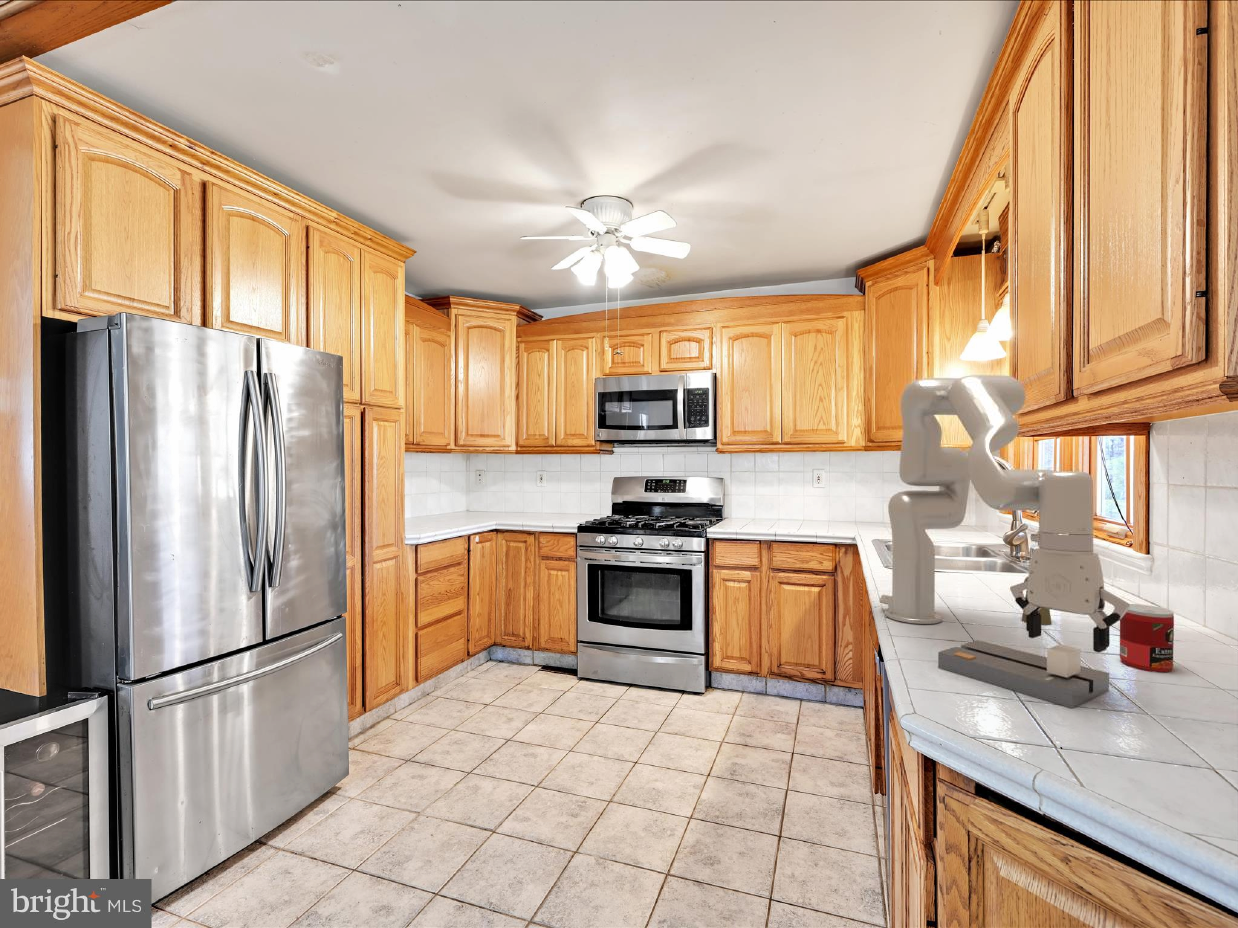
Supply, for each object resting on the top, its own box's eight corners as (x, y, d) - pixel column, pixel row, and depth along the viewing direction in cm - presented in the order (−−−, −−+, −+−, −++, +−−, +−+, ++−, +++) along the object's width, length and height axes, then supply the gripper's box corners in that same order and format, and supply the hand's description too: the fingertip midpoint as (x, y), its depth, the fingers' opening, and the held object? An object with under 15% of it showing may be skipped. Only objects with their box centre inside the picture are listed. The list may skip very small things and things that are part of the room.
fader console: (938, 667, 116) (938, 650, 116) (977, 654, 124) (977, 639, 124) (1071, 708, 98) (1072, 688, 98) (1108, 690, 105) (1109, 671, 105)
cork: (1056, 625, 144) (1057, 579, 144) (1028, 624, 146) (1028, 578, 146) (1044, 619, 150) (1044, 574, 150) (1017, 617, 152) (1017, 573, 151)
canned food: (1159, 675, 112) (1160, 615, 112) (1110, 661, 120) (1110, 605, 119) (1182, 669, 115) (1183, 611, 115) (1132, 656, 123) (1133, 602, 123)
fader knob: (1046, 683, 105) (1047, 648, 105) (1060, 677, 107) (1060, 644, 107) (1066, 689, 102) (1067, 653, 102) (1080, 683, 105) (1080, 648, 105)
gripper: (1000, 539, 110) (1001, 634, 110) (1118, 550, 95) (1119, 660, 95) (1021, 537, 114) (1022, 628, 114) (1137, 547, 99) (1138, 652, 99)
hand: (1066, 643), depth 104 cm, fingers open, 9 cm apart
